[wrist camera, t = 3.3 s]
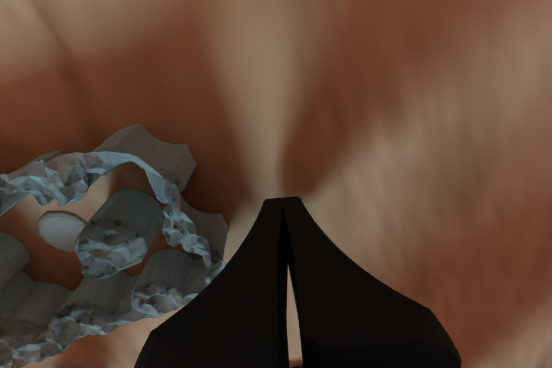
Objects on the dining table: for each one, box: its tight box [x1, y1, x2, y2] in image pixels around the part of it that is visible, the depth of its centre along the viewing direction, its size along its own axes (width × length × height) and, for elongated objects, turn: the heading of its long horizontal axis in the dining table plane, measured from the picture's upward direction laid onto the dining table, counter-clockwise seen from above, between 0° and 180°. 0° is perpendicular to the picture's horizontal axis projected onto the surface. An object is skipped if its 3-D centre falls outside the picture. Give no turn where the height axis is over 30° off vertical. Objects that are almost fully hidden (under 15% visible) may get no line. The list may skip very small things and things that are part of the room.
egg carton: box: [0, 123, 229, 368], centre depth 11 cm, size 11×8×4 cm
